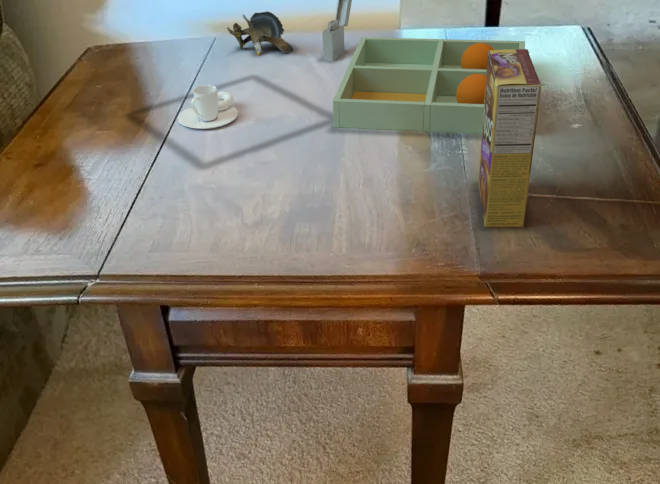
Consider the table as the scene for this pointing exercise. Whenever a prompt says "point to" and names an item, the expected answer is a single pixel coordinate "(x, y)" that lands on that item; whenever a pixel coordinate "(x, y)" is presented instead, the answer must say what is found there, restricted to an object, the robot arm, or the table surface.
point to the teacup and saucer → (208, 108)
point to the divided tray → (409, 86)
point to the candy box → (508, 136)
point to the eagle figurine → (262, 32)
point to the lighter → (336, 32)
